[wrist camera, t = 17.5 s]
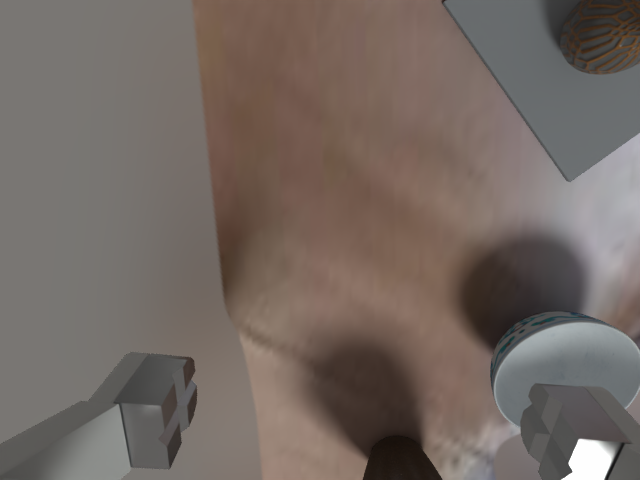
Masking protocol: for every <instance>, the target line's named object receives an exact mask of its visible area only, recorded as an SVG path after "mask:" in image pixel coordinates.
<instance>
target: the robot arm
mask: <svg viewBox="0 0 640 480" xmlns="http://www.w3.org/2000/svg"><path fill="white" fill-rule="evenodd" d="M194 373H195V366H194V360H193V359H192V358H191V357H182V356H172V355H162V354H148V353H138V352H130V353H128V354H126V355H125V356H124V357H123V359H122V360H121V361H120V362H119V364H118V365H117V366H116V367H115V368H114V370H113V371H112V372H111V374H110V375H109V376H108V377H107V378H106V379H105V381H104V382H103V383H102V385H101V386H100V387H99V388H98V389H97V391H96V392H95V393H94V394H93V395H92V397H91V398H90V399H89V400H88V401H80V402H78V403H76V404H75V405H72V406H71V407H69V408H67V409H65V410H63V411H61V412H60V413H57V414H56V415H54V416H52V417H50V418H48V419H47V420H44V421H42V422H41V423H39V424H37V425H35V426H33V427H31V428H29V429H27V430H26V431H24V432H22V433H20V434H18V435H16V436H14V437H12V438H11V439H9V440H7V441H5V442H3V443H1V444H0V480H120V479H121V478H122V477H123V476H124V475H126V474H127V473H128V472H129V471H130V470H131V467H133V468H152V469H153V468H154V469H170V468H171V465H172V463H173V461H174V459H175V456H176V454H177V452H178V450H179V448H180V445H181V443H182V442H181V432H182V431H184V430H185V429H187V428H188V427H189V425H190V423H191V421H192V418H193V416H194V412H195V408H196V404H197V386H196V384H195V383H194V382H193V381H192V380H191V379H192V377H193V374H194ZM528 397H529V399H530V401H531V402H532V404H531V405H530V406H529V407H528V408H526V409H525V410H524V411H523V414H522V417H521V421H520V426H521V436H522V439H523V443H524V445H525V447H526V449H527V451H528V453H529V454H530V455H531V456H532V457H533V458H535V459H536V460H537V461H538V462H540V467H539V471H538V473H539V475H540V477H541V479H542V480H640V425H639V424H638V423H637V422H636V421H635V420H634V419H633V417H632V416H631V415H630V414H629V413H628V412H627V411H626V410H625V408H624V407H623V406H622V405H621V404H620V403H619V402H618V401H617V399H616V398H615V397H614V396H613V395H612V394H611V393H610V392H609V391H608V390H606V389H605V388H603V387H594V386H569V385H554V384H540V383H535V384H534V385H533V386H532V387H531V389H530V392H529V395H528Z"/></svg>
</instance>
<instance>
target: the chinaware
mask: <svg viewBox="0 0 640 480" xmlns="http://www.w3.org/2000/svg"><path fill="white" fill-rule="evenodd" d="M490 377H491V386H492V392H493V396H494V399H495V402H496V405H497V407H498V409H499V410H500V412H501V413H502V415H503V416H504V417H505V418H506V419H507V420H508V421H509V422H510V423H512V424H513V425H515V426H516V427H518V428H520V429H521V426H520V421H521V417H522V414H523V411H524V410H525V409H526V408H528V407H529V406H530V405H531V404H532V402H531V401H530V399H529V397H528V395H529V392H530V389H531V387H532V386H533V385H534V384H535V383H540V384H554V385H569V386H594V387H603V388H605V389H606V390H608V391H609V392H610V393H611V394H612V395H613V396H614V397H615V398H616V399H617V401H618V402H619V403H620V404H621V405H622V406H623V407H624V408H625V409H626V408H627V407H628V406H629V405H630V404H631V403H632V401H633V400H634V399H635V397H636V395H637V394H638V392H639V390H640V350H639V348H638V347H637V345H636V344H635V343H634V341H633V340H632V339H631V338H630V337H629V336H627V335H626V334H625V333H623V332H622V331H620V330H619V329H617V328H615V327H613V326H611V325H609V324H607V323H605V322H603V321H601V320H598V319H596V318H593V317H590V316H586V315H583V314H578V313H573V312H563V311H553V312H544V313H539V314H535V315H532V316H530V317H527V318H525V319H523V320H521V321H519V322H518V323H516V324H515V325H513V326H512V327H511V328H510V329H509V330H508V331H507V332H506V333H505V334H504V335H503V336H502V337H501V339H500V340H499V342H498V344H497V346H496V348H495V350H494V353H493V356H492V361H491V370H490Z"/></svg>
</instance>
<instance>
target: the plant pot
mask: <svg viewBox="0 0 640 480" xmlns="http://www.w3.org/2000/svg"><path fill="white" fill-rule="evenodd" d="M363 480H442V478H441V476H440V475H439V473H438V471H437V470H436V468H435V467H434V465H433V464H432V462H431V461H430V460H429V458H428V457H427V455H426V454H425V453H424V451H423V450H422V449H421V447H420V446H419V445H418V444H417V443H416V442H415V441H413V440H411V439H409V438H406V437H401V436H393V437H388V438H385V439H383V440H381V441H379V442H378V443H377V444H376V445H375V446H374V447H373V449H372V452H371V454H370V457H369V460H368V463H367V466H366V470H365V473H364V477H363Z"/></svg>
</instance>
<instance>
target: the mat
mask: <svg viewBox="0 0 640 480" xmlns="http://www.w3.org/2000/svg"><path fill="white" fill-rule="evenodd" d="M580 1H581V0H446V1H445V2H443V3H442V4H443V6H444V7H445V8H446V10H447V11H448V13H449V14H450V15H451V17H452V18H453V20H454V21H455V23H456V24H457V25H458V27H459V28H460V30H461V31H462V33H463V34H464V35H465V37H466V38H467V40H468V41H469V43H470V44H471V45H472V47H473V48H474V50H475V51H476V53H477V54H478V55H479V57H480V58H481V60H482V61H483V62H484V64H485V65H486V67H487V68H488V70H489V71H490V72H491V74H492V75H493V77H494V78H495V80H496V81H497V82H498V84H499V85H500V87H501V88H502V90H503V91H504V92H505V94H506V95H507V97H508V98H509V100H510V101H511V102H512V104H513V105H514V107H515V108H516V109H517V111H518V112H519V114H520V115H521V117H522V118H523V119H524V121H525V122H526V124H527V125H528V127H529V128H530V129H531V131H532V132H533V134H534V135H535V137H536V138H537V139H538V141H539V142H540V144H541V145H542V146H543V148H544V149H545V151H546V152H547V154H548V155H549V156H550V158H551V159H552V161H553V162H554V164H555V165H556V166H557V168H558V169H559V171H560V172H561V174H562V175H563V176H564V178H565V179H566V181H568V182H571V181H572V180H574V179H575V178H576V177H578V176H579V175H581V174H582V173H584V172H585V171H586V170H588V169H589V168H591V167H592V166H593V165H595V164H596V163H598V162H599V161H600V160H602V159H603V158H605V157H606V156H607V155H609V154H610V153H612V152H613V151H615V150H616V149H617V148H619V147H620V146H622V145H623V144H624V143H626V142H627V141H629V140H630V139H631V138H633V137H634V136H636V135H637V134H638V133H640V63H639V64H637V65H635V66H633V67H631V68H629V69H627V70H624V71H621V72H617V73H613V74H605V75H594V74H587V73H584V72H581V71H579V70H577V69H575V68H574V67H572V66H571V65H570V64H569V63H568V62H567V61H566V60H565V58H564V56H563V54H562V51H561V47H560V36H561V31H562V28H563V25H564V23H565V21H566V19H567V17H568V15H569V14H570V12H571V11H572V10H573V8H574V7H575V6H576V5H577V4H578V3H579V2H580Z"/></svg>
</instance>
